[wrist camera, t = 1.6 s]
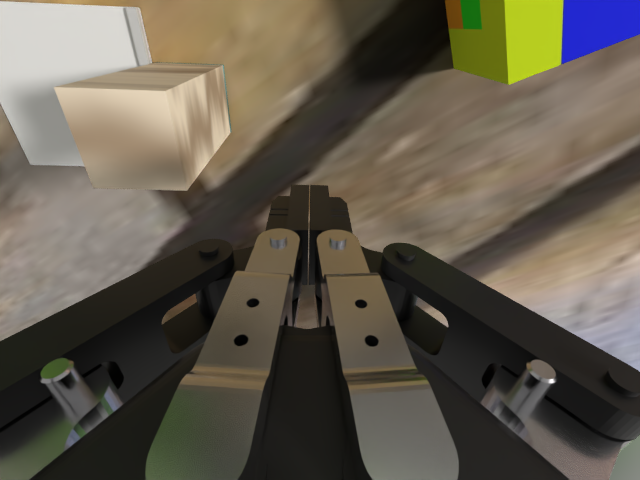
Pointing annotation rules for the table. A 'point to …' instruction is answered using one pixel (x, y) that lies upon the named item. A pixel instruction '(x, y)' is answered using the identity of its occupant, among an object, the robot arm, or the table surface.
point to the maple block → (148, 124)
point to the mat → (60, 66)
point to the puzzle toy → (533, 33)
